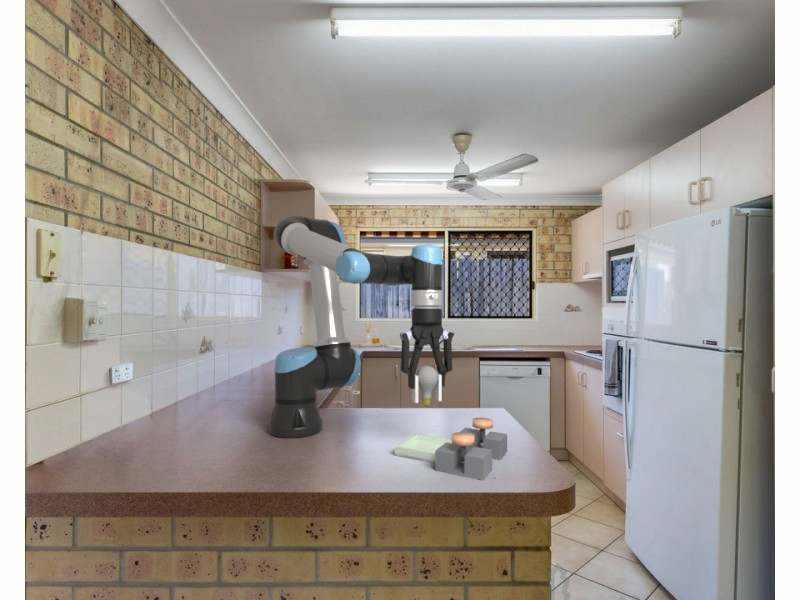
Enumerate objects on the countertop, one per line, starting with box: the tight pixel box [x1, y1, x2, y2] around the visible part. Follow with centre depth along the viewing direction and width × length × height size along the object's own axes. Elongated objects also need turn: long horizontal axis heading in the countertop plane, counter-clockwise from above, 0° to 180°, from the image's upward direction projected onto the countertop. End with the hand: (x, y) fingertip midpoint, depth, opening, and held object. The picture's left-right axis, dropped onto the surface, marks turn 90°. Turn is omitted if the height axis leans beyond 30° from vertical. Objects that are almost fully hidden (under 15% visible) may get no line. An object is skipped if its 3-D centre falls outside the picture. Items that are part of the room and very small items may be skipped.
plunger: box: [451, 431, 475, 463], centre depth 98 cm, size 5×5×6 cm
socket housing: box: [434, 427, 508, 481], centre depth 104 cm, size 11×20×4 cm, turn 152°
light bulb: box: [415, 365, 438, 407], centre depth 109 cm, size 6×5×10 cm
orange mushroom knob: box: [472, 417, 494, 444], centre depth 110 cm, size 5×5×6 cm
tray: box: [394, 433, 452, 464], centre depth 110 cm, size 12×12×2 cm
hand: (426, 400), depth 110 cm, fingers closed on light bulb, 5 cm apart
